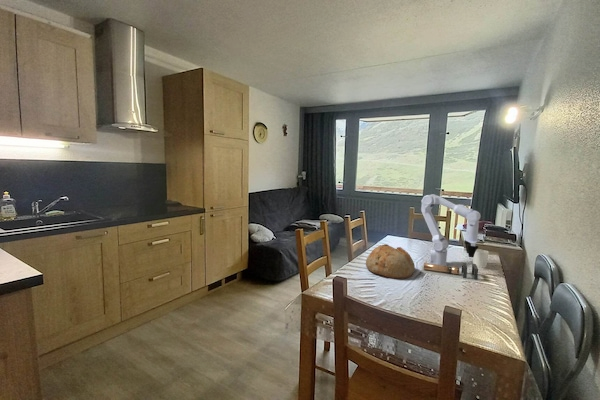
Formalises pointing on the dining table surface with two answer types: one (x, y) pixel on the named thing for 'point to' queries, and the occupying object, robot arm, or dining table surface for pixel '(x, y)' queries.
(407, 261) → the bread
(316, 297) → the dining table surface
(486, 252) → the white cup
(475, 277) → the collar
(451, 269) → the copper tube
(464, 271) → the dark gray arch
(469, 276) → the pale gray board
